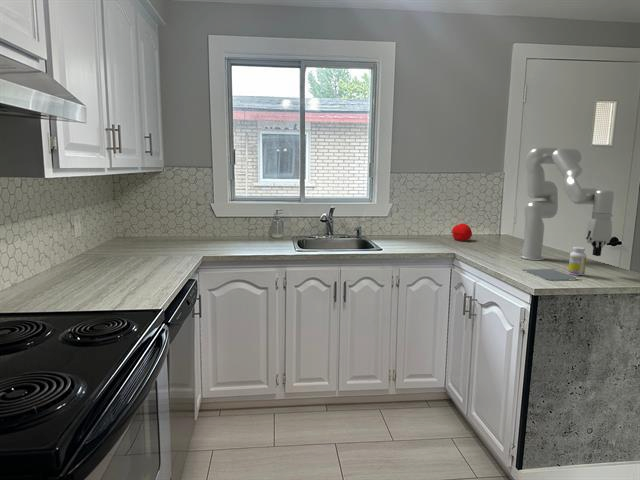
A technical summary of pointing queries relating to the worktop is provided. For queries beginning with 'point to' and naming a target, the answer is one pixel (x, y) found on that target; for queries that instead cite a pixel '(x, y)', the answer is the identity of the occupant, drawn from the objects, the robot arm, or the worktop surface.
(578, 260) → the supplement bottle
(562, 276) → the mat
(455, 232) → the tomato
